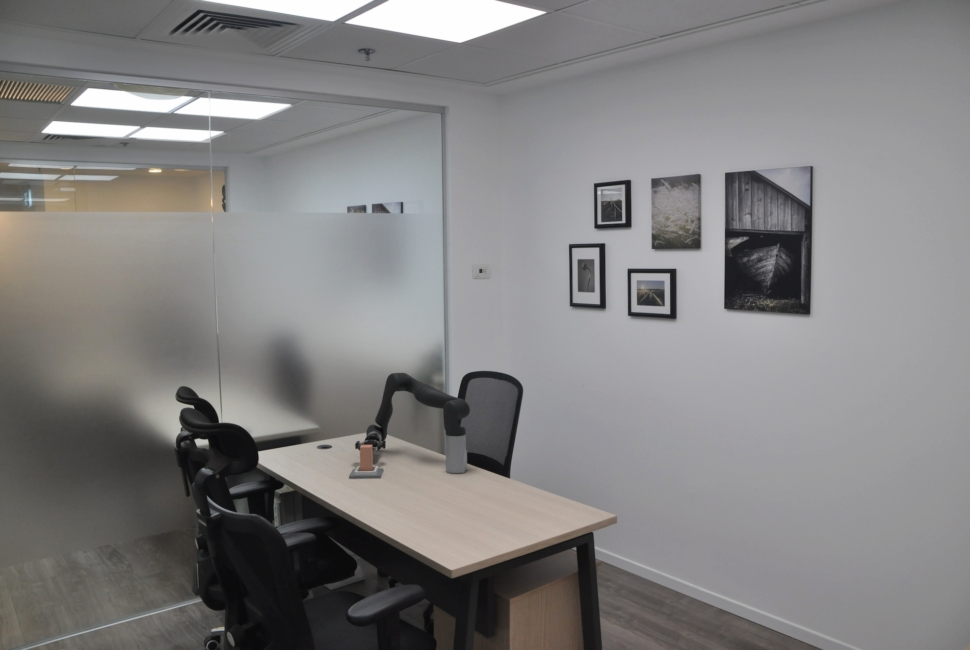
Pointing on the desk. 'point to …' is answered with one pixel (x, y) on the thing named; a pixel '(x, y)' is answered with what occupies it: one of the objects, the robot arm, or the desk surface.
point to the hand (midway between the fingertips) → (368, 448)
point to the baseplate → (366, 473)
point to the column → (366, 458)
